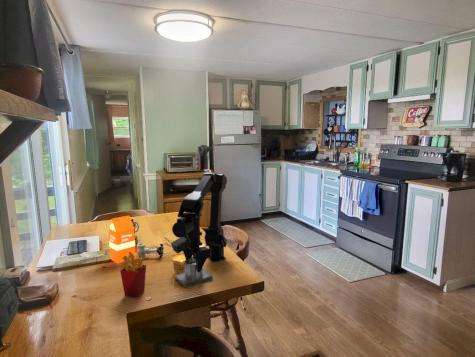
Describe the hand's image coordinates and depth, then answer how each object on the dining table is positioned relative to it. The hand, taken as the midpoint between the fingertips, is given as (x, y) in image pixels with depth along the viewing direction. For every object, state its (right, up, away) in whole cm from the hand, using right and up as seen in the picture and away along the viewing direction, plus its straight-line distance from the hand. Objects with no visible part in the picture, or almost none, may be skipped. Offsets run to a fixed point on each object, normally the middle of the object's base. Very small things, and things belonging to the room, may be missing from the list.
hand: (193, 268), depth 120 cm
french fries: (-21, -6, -11) cm, 24 cm away
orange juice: (-36, -2, +22) cm, 42 cm away
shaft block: (0, -5, +1) cm, 5 cm away
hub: (0, -3, +1) cm, 3 cm away
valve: (-24, -2, +23) cm, 33 cm away
